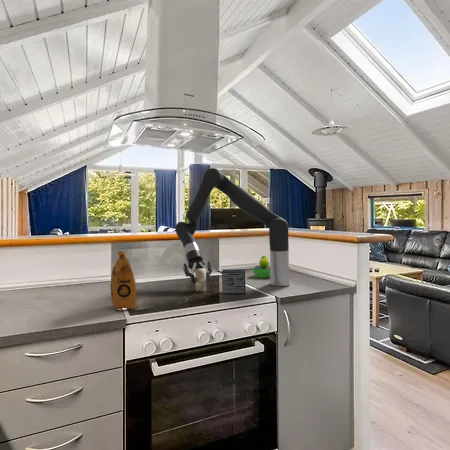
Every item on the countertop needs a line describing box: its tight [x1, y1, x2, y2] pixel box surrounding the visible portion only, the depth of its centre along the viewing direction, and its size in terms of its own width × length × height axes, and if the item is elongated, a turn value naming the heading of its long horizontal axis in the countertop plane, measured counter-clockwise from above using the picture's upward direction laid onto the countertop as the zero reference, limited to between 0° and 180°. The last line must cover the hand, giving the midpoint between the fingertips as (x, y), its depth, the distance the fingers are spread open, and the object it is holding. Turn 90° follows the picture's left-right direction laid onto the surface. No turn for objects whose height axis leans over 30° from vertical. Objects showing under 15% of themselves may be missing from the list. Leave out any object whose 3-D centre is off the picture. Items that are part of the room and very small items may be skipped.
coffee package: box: [110, 250, 138, 310], centre depth 128 cm, size 10×12×22 cm
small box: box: [221, 268, 247, 295], centre depth 147 cm, size 11×6×10 cm, turn 84°
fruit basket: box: [252, 255, 270, 279], centre depth 180 cm, size 11×9×11 cm
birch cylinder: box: [194, 268, 207, 293], centre depth 152 cm, size 5×5×10 cm
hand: (202, 281), depth 150 cm, fingers open, 6 cm apart
